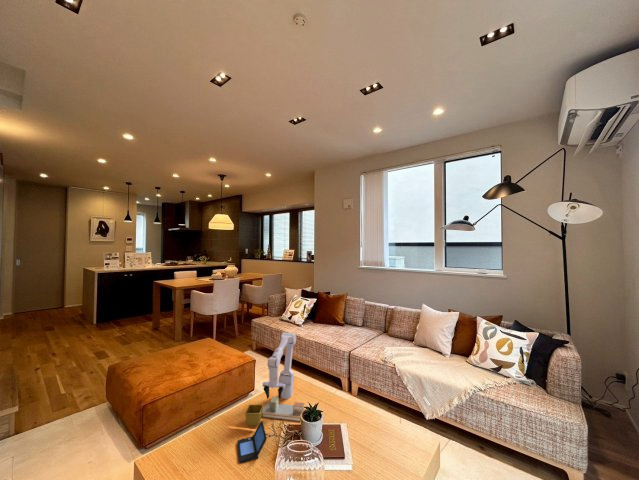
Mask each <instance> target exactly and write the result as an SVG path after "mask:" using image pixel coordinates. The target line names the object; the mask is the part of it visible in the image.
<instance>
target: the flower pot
mask: <svg viewBox="0 0 639 480" xmlns="http://www.w3.org/2000/svg"><path fill="white" fill-rule="evenodd" d="M263 409H264V405H263V404H248V406H247V409H246V411H245V413H244V415H245V422H246V424H247V426H248V427H249V426H251V427H253V426H256V427H258V426H259V424H260V422H261V419H262V417H261V416H262V411H263Z"/></svg>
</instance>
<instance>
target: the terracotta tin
mask: <svg viewBox="0 0 639 480" xmlns="http://www.w3.org/2000/svg"><path fill="white" fill-rule="evenodd" d="M304 407H305V403H304V402H297V401H295V402H294V404H293V415H294V416H300V415H301V413H302V411H303V410H304Z"/></svg>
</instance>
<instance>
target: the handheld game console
mask: <svg viewBox="0 0 639 480" xmlns="http://www.w3.org/2000/svg"><path fill="white" fill-rule="evenodd" d="M264 426H265V425H264V422H263V420H260V422H259V424H258V426H257V427H256V430H255V431H254V434H253V435H252V436H248V437H245V438H241V439H238V440H237V442H236V445H237V455H238V463H239V464H243V463H246V462H250V461H253V460H258V459H259V455H260V453H261V451H262V449H263V448H264V445H265V444H266V442H267V433H266V430H265V427H264Z"/></svg>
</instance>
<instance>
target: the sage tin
mask: <svg viewBox="0 0 639 480" xmlns="http://www.w3.org/2000/svg"><path fill="white" fill-rule="evenodd" d="M269 403H270V411H271V412H276V411H277V409H278V407H279V404H280V400H279V399H278V396H273V397H272V398H271V400H270V401H269Z"/></svg>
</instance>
